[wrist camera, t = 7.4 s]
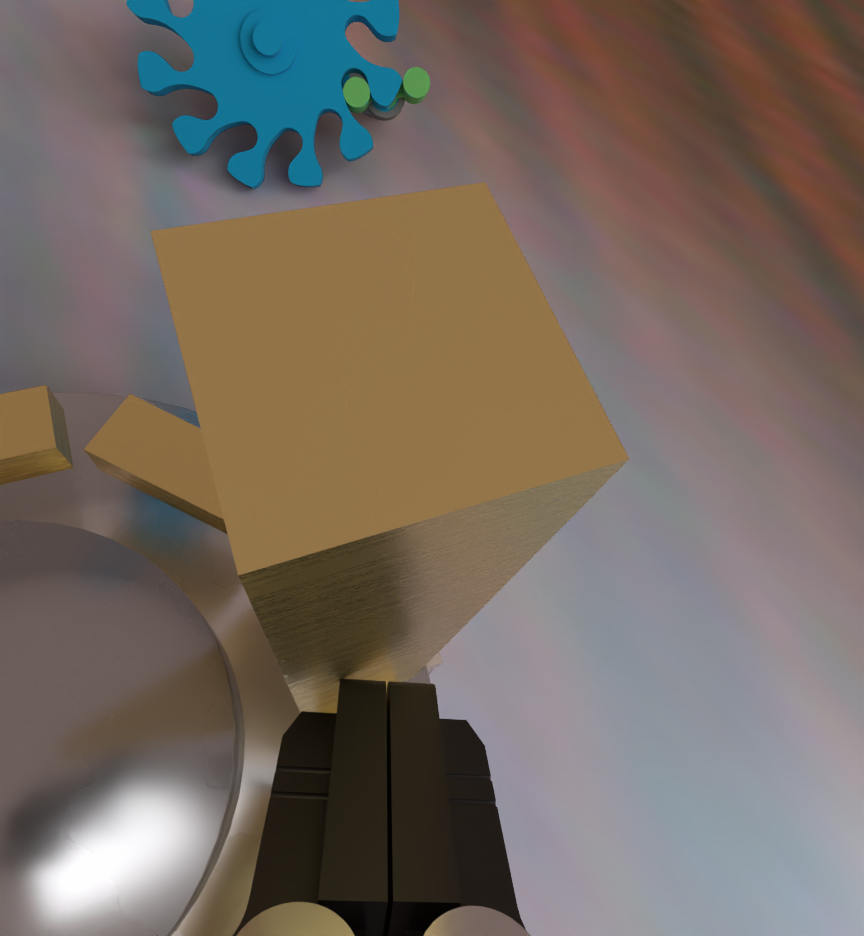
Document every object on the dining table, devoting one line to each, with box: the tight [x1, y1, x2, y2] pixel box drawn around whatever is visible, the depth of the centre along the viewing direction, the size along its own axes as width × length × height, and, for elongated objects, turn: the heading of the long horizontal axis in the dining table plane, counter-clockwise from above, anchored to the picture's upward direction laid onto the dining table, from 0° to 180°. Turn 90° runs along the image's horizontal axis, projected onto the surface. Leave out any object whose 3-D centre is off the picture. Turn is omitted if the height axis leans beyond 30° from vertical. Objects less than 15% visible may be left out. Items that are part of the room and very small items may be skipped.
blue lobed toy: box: [126, 0, 430, 189], centre depth 26 cm, size 11×6×10 cm
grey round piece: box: [0, 393, 443, 936], centre depth 14 cm, size 19×19×5 cm
